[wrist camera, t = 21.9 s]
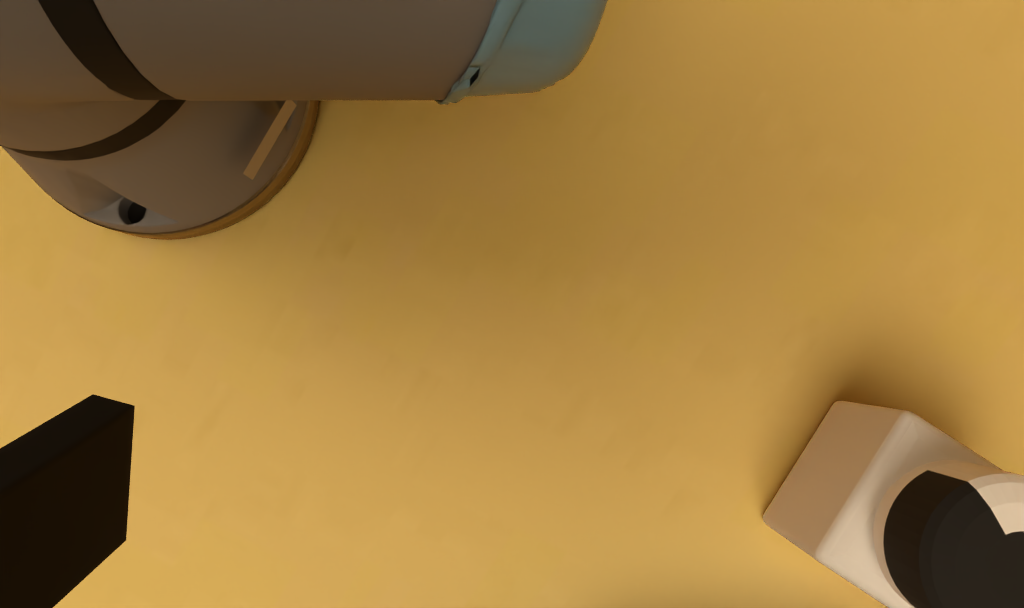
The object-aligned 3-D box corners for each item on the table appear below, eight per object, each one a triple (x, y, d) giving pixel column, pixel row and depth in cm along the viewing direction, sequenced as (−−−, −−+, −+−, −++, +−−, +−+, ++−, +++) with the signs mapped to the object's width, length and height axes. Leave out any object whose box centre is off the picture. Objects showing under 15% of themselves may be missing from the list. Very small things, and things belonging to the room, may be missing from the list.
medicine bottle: (882, 600, 36) (1061, 724, 24) (757, 518, 36) (873, 600, 24) (958, 477, 36) (1173, 538, 24) (834, 397, 37) (985, 418, 25)
